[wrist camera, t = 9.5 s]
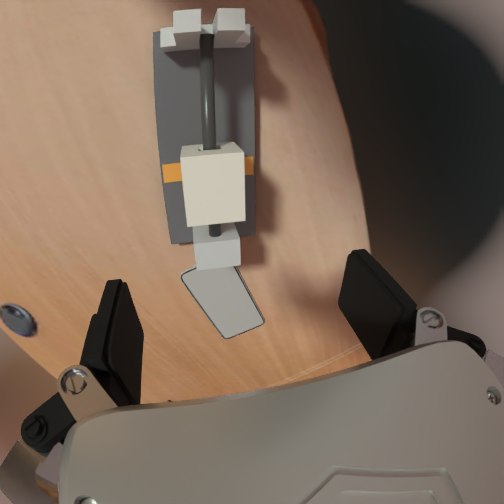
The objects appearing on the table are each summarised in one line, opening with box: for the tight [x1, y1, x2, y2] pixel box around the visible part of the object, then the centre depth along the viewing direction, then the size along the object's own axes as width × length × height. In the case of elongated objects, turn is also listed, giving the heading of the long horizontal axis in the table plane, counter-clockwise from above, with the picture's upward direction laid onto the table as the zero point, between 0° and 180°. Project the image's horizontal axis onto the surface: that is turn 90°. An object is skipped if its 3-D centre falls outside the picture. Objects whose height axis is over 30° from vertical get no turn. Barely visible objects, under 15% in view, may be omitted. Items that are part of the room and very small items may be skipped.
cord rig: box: [153, 8, 255, 271], centre depth 24 cm, size 24×10×10 cm, turn 1°
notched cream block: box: [180, 142, 246, 227], centre depth 25 cm, size 6×5×6 cm
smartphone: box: [180, 265, 265, 339], centre depth 40 cm, size 7×1×15 cm
